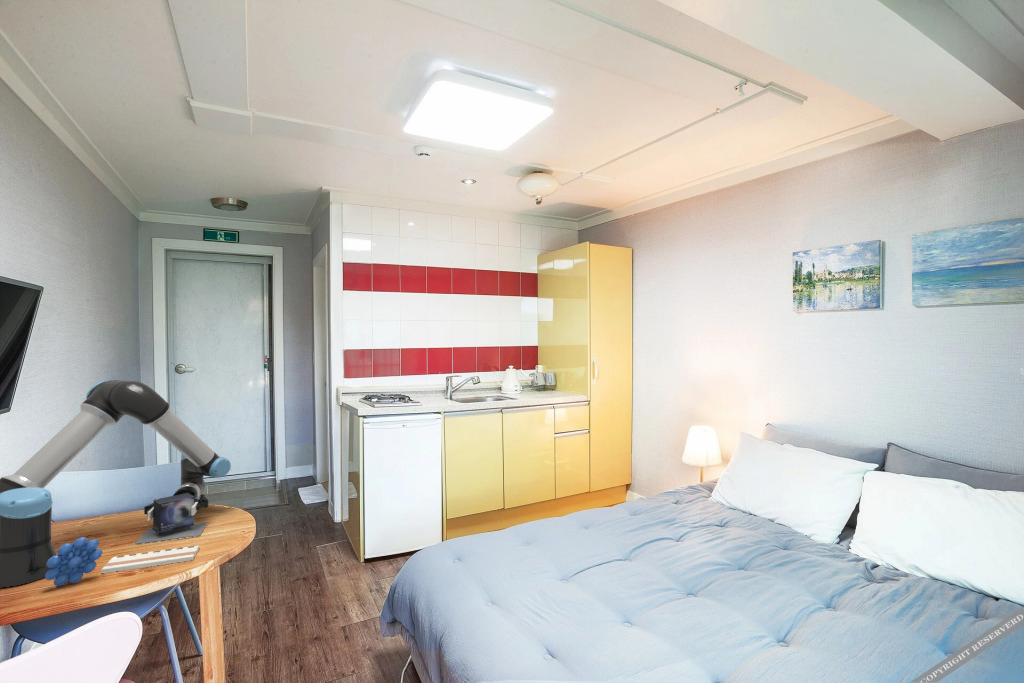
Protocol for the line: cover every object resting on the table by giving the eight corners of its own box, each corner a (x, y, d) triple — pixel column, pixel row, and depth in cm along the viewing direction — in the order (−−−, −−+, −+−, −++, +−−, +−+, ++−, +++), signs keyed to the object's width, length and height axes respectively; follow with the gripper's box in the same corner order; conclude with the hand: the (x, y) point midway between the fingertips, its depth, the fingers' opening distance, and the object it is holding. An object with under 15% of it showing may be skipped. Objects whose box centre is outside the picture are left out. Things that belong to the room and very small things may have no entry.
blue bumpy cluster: (99, 570, 139) (100, 528, 139) (103, 578, 134) (104, 534, 134) (43, 585, 130) (44, 540, 130) (45, 594, 126) (45, 547, 126)
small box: (158, 535, 161) (159, 503, 161) (152, 530, 165) (152, 499, 165) (194, 525, 169) (194, 495, 169) (187, 521, 173) (187, 492, 173)
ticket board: (101, 573, 137) (101, 568, 137) (113, 560, 145) (113, 556, 145) (192, 560, 145) (192, 555, 145) (199, 549, 154) (199, 544, 154)
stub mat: (134, 544, 157) (134, 543, 157) (148, 529, 170) (148, 528, 170) (199, 536, 164) (199, 535, 164) (207, 522, 177) (208, 521, 177)
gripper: (222, 501, 188) (212, 520, 168) (148, 509, 179) (127, 530, 159) (222, 482, 188) (212, 498, 168) (148, 489, 179) (127, 507, 159)
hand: (171, 513), depth 164 cm, fingers closed on small box, 12 cm apart
